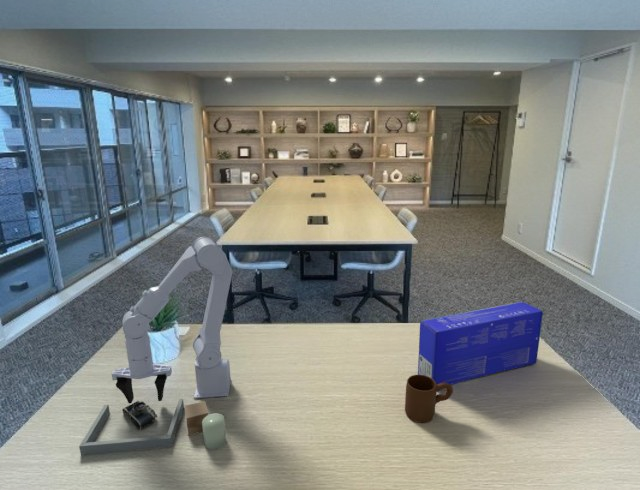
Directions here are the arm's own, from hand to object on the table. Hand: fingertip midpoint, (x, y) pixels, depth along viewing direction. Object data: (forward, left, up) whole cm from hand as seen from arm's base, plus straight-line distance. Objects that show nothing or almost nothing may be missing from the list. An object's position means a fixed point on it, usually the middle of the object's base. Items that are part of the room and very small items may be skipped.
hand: (146, 399), depth 108 cm
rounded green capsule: (-20, +16, -2) cm, 25 cm away
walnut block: (-15, +10, -2) cm, 18 cm away
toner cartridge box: (-97, -5, -2) cm, 97 cm away
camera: (+1, +4, -2) cm, 5 cm away
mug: (-74, +13, -2) cm, 75 cm away
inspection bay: (0, +9, -2) cm, 9 cm away
